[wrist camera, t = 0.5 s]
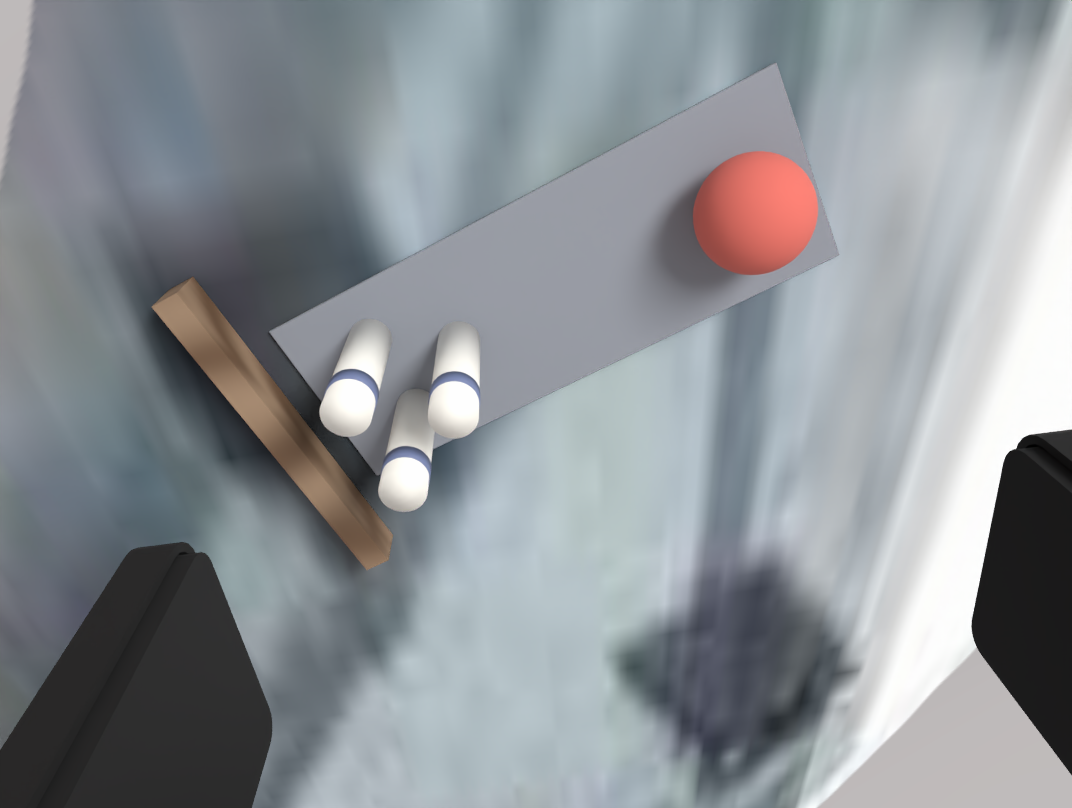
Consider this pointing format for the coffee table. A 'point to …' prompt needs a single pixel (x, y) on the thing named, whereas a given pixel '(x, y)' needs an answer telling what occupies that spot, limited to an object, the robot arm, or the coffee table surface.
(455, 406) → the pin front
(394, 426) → the pin
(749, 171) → the ball
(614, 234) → the lane
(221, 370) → the back wall
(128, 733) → the robot arm
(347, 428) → the pin
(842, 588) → the coffee table surface
